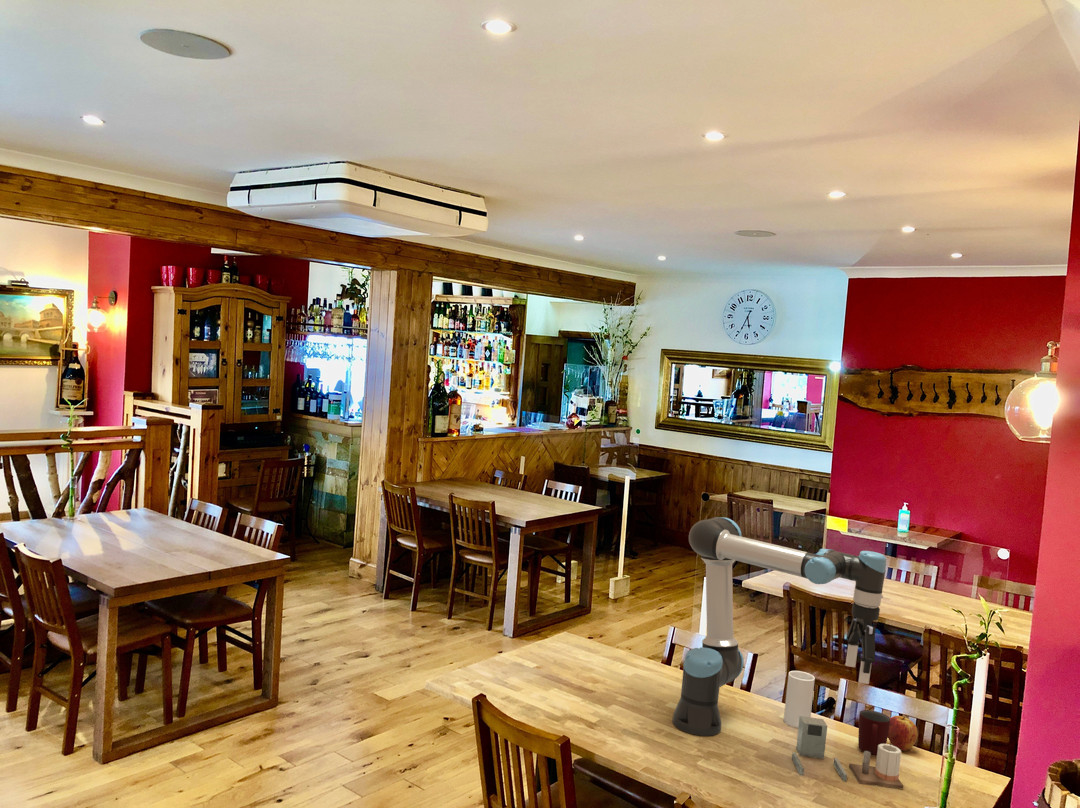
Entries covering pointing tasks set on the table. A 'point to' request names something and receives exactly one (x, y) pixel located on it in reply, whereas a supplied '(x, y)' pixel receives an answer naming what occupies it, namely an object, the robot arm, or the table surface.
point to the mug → (872, 730)
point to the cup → (798, 697)
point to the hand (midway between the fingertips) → (856, 674)
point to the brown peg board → (871, 774)
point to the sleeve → (888, 762)
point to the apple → (902, 732)
